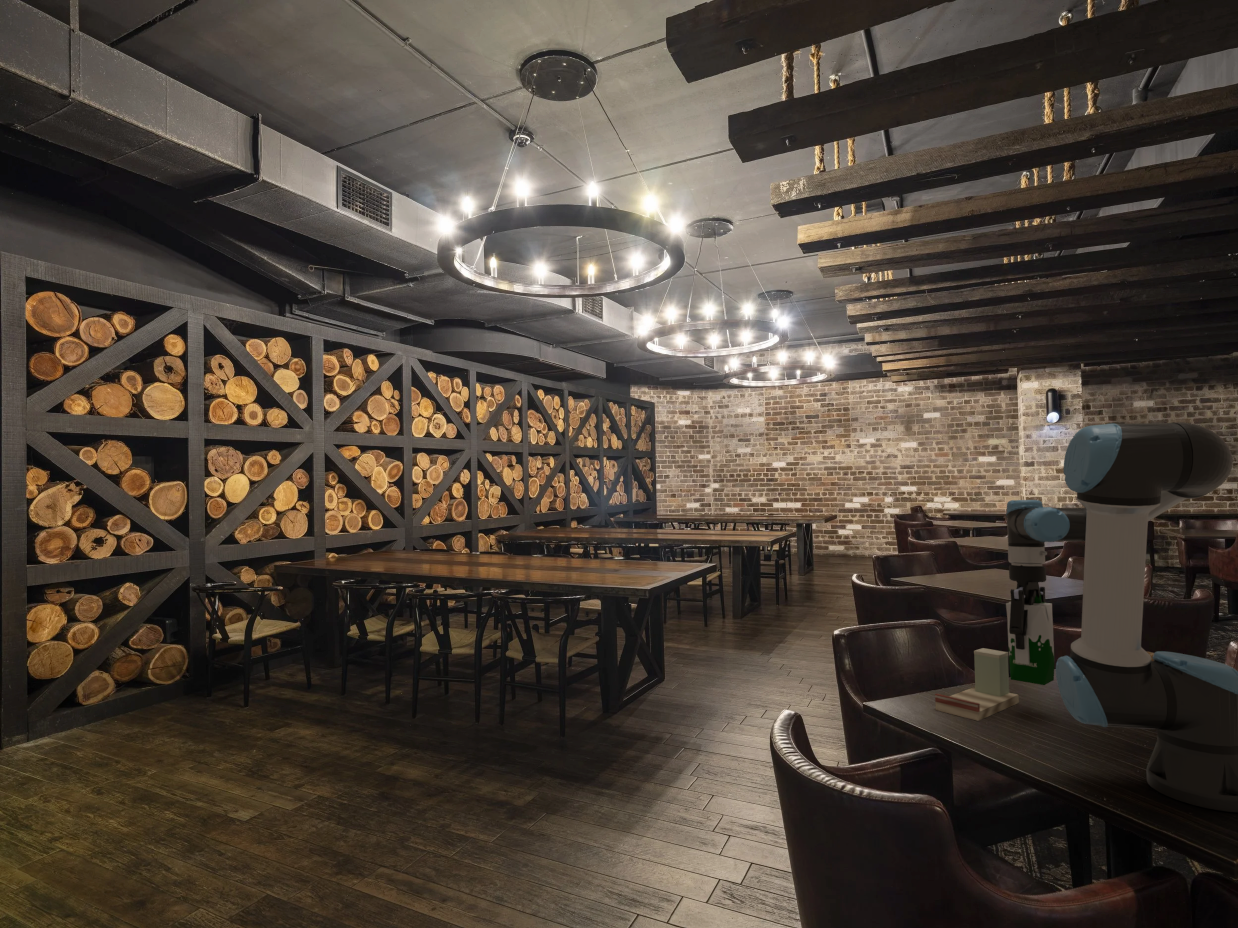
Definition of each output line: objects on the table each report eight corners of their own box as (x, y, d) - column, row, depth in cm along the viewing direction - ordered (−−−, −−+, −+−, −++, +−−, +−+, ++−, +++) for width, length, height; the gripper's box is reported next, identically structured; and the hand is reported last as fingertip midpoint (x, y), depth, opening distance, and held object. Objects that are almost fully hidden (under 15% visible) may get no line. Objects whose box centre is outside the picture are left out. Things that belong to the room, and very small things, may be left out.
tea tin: (1000, 696, 164) (999, 655, 164) (975, 691, 169) (973, 650, 169) (1009, 693, 167) (1008, 652, 167) (984, 687, 172) (982, 647, 172)
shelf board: (978, 720, 152) (977, 704, 152) (935, 709, 160) (935, 693, 160) (1018, 702, 166) (1018, 687, 166) (977, 693, 173) (977, 678, 174)
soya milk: (1059, 680, 155) (1055, 594, 157) (1047, 686, 149) (1043, 597, 151) (1018, 673, 162) (1014, 591, 164) (1004, 679, 156) (1001, 594, 158)
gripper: (1025, 567, 148) (1029, 669, 146) (1062, 563, 161) (1066, 657, 160) (989, 565, 154) (993, 663, 152) (1028, 561, 167) (1032, 652, 166)
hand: (1031, 660), depth 156 cm, fingers closed on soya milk, 9 cm apart
